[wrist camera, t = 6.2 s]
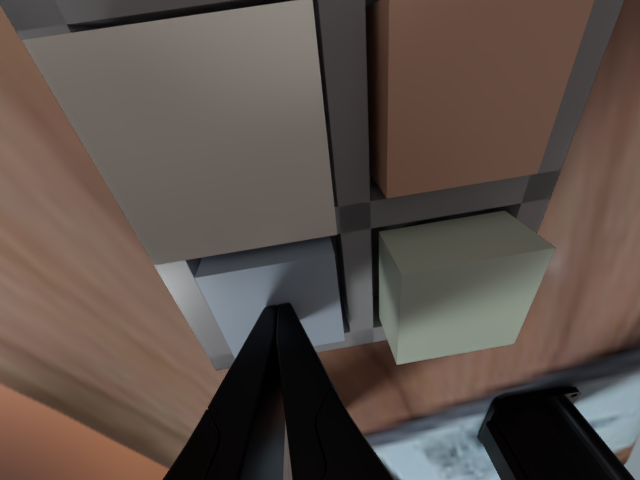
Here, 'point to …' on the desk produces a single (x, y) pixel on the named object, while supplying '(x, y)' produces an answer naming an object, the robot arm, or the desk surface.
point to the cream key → (202, 125)
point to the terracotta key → (465, 88)
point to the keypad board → (345, 149)
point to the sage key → (458, 284)
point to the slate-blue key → (274, 288)
